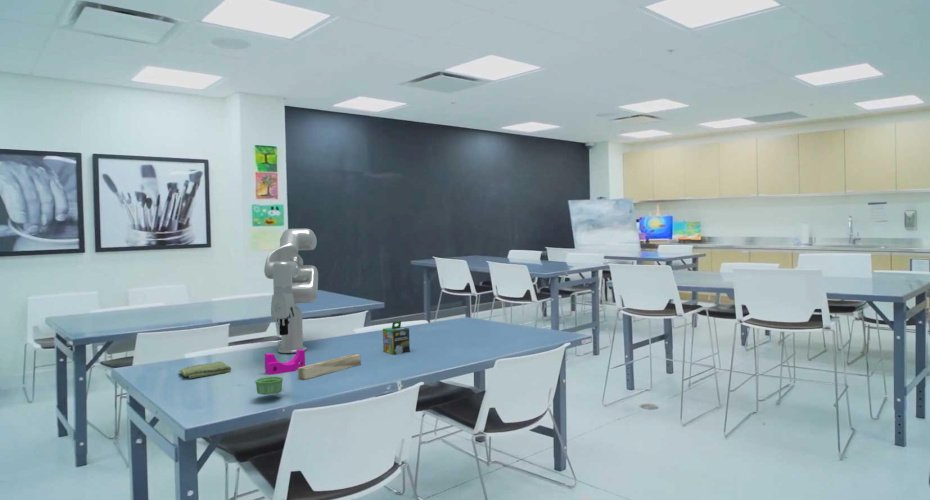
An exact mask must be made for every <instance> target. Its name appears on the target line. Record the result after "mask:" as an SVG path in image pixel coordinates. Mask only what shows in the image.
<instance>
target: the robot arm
mask: <svg viewBox="0 0 930 500" xmlns="http://www.w3.org/2000/svg"><path fill="white" fill-rule="evenodd" d="M317 242H318V240H317V236H316V234H315V233H314V231H313V230H312V229H310V228H287V229H285V230H284V231H283V232H282V235H281V237H280V239H279V247H277V248H276V249H274V250H273V251H271V252H270V253H269V254H268V255H267V257H266V259H265V263H264V269H263V270H264V271H263V272H264V276H265V277H266V278H267V279H270V280H272V281H273V294H272V297H271V301H270V302H271V303H270V304H271V306H270V316H271V318H273V321H276V322H277V325H278V326H279V336H281V339H280V341H279V342H277V346H279V348H278V349H277V351H278V353H281V354H294V353H295V354H296V352H297V350H299V349H302V350H305V351H307V347H306V346H304V337H303V335H304V333H303V332H304V331H303V329H304V327H303V311H302V310H301V308H300V307H299V305H297V304H305V303H307V304H308V303H310V304H311V303H314V302H316V301H317V299H318V298H317V297H318V291H319V290H318V288H319V271H318V268H317V267H316V266H314V265H311V264H305V265H304V260H303V258H302V256H301V255H300V254H299V251H314V250H315V249H316V247H317Z"/></svg>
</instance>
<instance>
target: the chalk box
mask: <svg viewBox="0 0 930 500" xmlns="http://www.w3.org/2000/svg"><path fill="white" fill-rule="evenodd" d="M396 324H397V326H396ZM401 325H402V321H401V320H395V321H392V325H391V327H386V328H382V347H383V348H382V349H383V350H382V351H383V353H387V354H390V355H393V356H395V355H401V354H405V353H409V352H410V349H411V347H410V328H409V327H404V326H401Z"/></svg>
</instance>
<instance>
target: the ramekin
mask: <svg viewBox="0 0 930 500" xmlns="http://www.w3.org/2000/svg"><path fill="white" fill-rule="evenodd" d="M283 379H284V378H283V377H282V376H278V375H277V376H276V375H272V376H271V375H269V376H264V377H260V378H256V379H255V380H254V382H255V386H256V392H257V394H259V395H262V396H265V395H266V396H267V395H274V394H275V395H276V394H278V393H281V392H282V390H283Z"/></svg>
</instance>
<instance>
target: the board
mask: <svg viewBox="0 0 930 500" xmlns="http://www.w3.org/2000/svg"><path fill="white" fill-rule="evenodd" d="M361 357H362V356H361V354H358V353H357V354H356V353H351V354H349V355H345V356H344V355H343V356H340V357H336V358H333V359H328V360H323V361H319V362H317V363H312V364H308V365H305V366H304V367H300V368H298V369H297V379H298V380H309V379H314V378H316V377H320V376H324V375H328V374H331V373H333V372H338V371H342V370H346V369H350V368H352V367H353V368H354V367H356V366H360V365H361V364H362V363H361V361H362V360H361V359H362V358H361Z"/></svg>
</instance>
